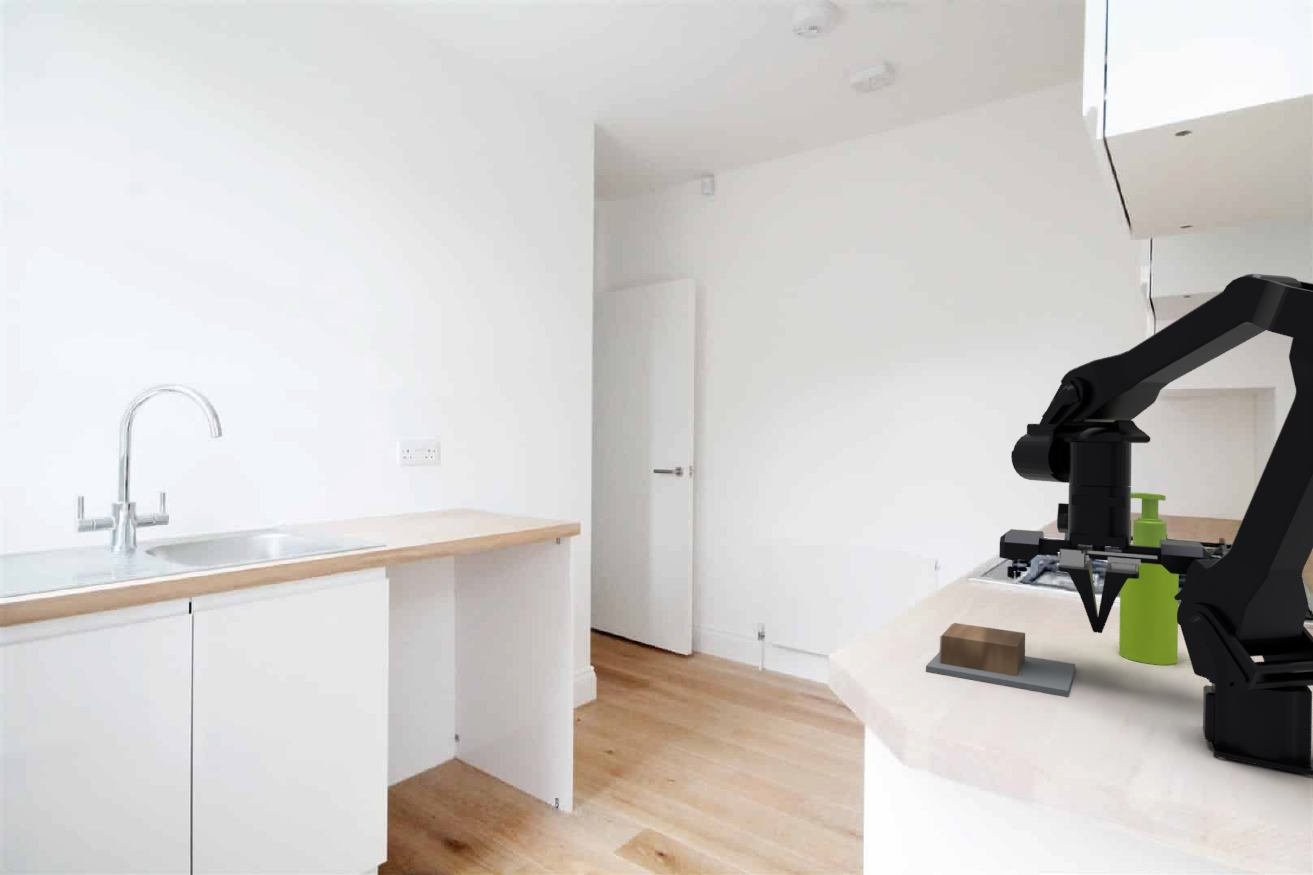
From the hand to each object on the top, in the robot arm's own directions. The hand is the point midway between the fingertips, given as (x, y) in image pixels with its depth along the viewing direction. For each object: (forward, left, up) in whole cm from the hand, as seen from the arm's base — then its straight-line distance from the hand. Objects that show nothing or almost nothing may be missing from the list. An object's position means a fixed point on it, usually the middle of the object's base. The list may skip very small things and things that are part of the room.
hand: (1097, 631), depth 79 cm
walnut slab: (+7, 0, -4) cm, 8 cm away
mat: (+9, 0, -6) cm, 11 cm away
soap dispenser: (-4, -16, -6) cm, 18 cm away
